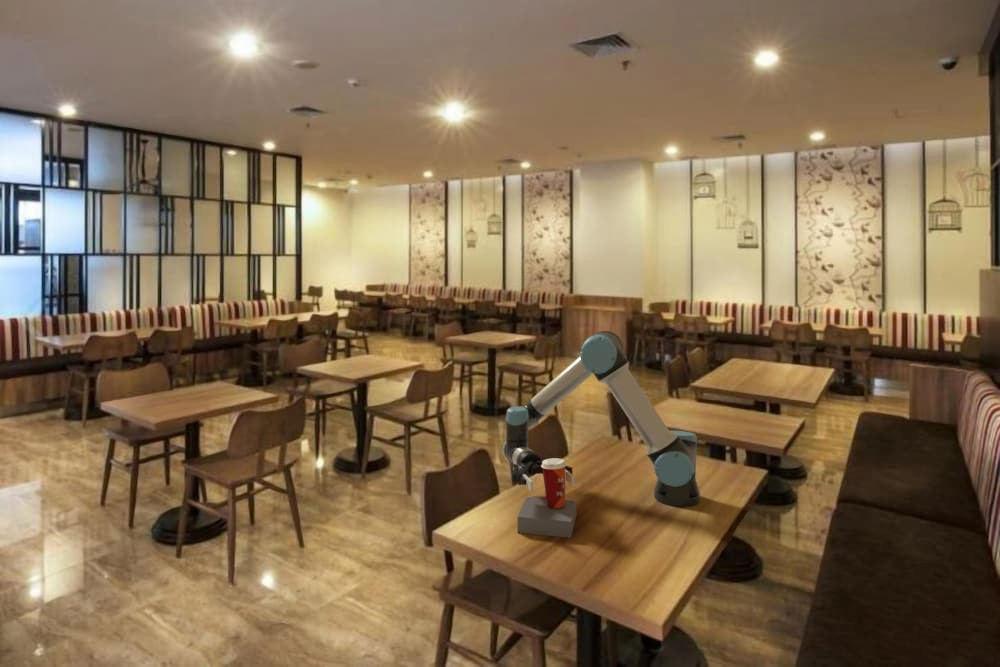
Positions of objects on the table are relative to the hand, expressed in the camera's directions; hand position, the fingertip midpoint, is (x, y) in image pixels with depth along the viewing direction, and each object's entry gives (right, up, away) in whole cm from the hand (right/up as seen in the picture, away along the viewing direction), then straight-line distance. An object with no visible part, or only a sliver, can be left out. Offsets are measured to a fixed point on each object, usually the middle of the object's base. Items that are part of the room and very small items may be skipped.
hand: (552, 483), depth 189 cm
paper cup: (+2, -8, +6) cm, 11 cm away
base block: (-1, -14, +5) cm, 15 cm away
